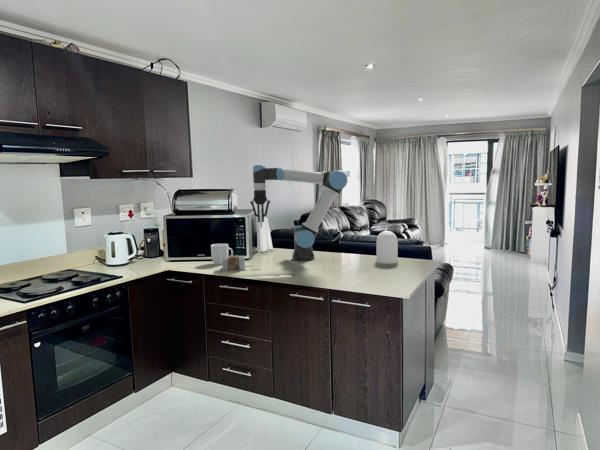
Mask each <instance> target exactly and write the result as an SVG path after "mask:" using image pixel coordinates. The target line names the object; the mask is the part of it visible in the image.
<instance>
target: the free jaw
mask: <svg viewBox="0 0 600 450" xmlns="http://www.w3.org/2000/svg"><path fill="white" fill-rule="evenodd" d="M245 259H246V256H245V255H239V259H238V260H239V270H245V271H246V267H245V266H246V261H245Z"/></svg>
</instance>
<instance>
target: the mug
mask: <svg viewBox="0 0 600 450" xmlns="http://www.w3.org/2000/svg"><path fill="white" fill-rule="evenodd" d="M229 250H230V252H231V253H230V256H234V251H233V248H231V247H229V243H213V244H211V245H210V253H211V255H210V256H211V259H212V263H213V264H214V265H220V266H221V265H222V259H223V257H229Z"/></svg>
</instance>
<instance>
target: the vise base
mask: <svg viewBox="0 0 600 450" xmlns="http://www.w3.org/2000/svg"><path fill="white" fill-rule="evenodd" d="M246 267H248V268H249V267H252V265H245V268H246ZM260 270H261V269H258V268H255V269H254V268H253V269H252V271H260ZM238 271H239V272H240V271H242V272H244V271H246V269H245V270H240V269H239V270H230V272H238ZM218 272H219V273H221V274H222V273H224V271H223V267H220V269H219V271H218Z"/></svg>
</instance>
